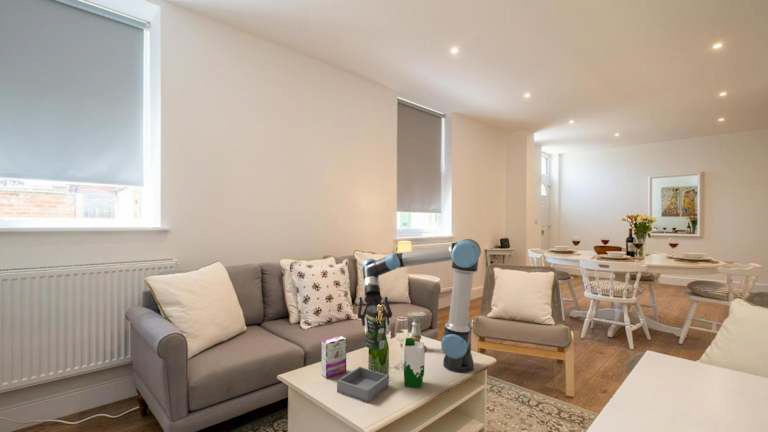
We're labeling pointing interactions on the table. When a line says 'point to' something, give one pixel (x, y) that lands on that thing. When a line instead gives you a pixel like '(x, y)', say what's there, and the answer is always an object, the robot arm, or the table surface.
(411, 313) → the candle holder
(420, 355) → the milk carton
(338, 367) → the candy bar box
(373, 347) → the coffee jar
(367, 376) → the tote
